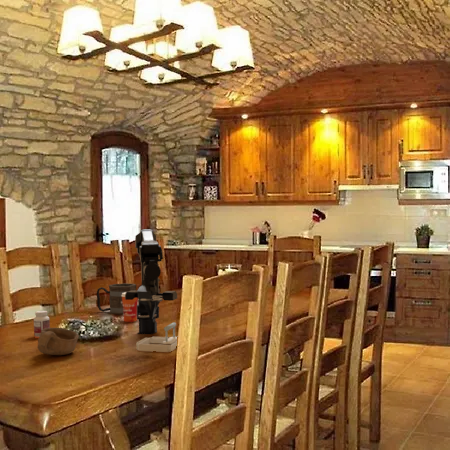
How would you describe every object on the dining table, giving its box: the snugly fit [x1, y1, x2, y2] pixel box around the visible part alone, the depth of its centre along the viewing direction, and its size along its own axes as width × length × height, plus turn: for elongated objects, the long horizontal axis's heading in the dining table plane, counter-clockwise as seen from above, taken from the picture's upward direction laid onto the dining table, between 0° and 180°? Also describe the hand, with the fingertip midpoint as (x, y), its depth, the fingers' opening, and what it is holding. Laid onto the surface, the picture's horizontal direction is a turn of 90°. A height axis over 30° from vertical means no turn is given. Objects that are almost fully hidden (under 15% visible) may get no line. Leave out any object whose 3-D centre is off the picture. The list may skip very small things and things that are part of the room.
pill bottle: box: [33, 310, 51, 339], centre depth 264 cm, size 6×6×11 cm
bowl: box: [37, 327, 80, 356], centre depth 232 cm, size 18×14×10 cm
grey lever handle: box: [162, 322, 178, 345], centre depth 241 cm, size 3×10×6 cm, turn 166°
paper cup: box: [121, 292, 139, 323], centre depth 294 cm, size 8×8×14 cm
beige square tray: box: [135, 336, 177, 353], centre depth 242 cm, size 14×14×3 cm
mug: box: [96, 282, 137, 316], centre depth 317 cm, size 20×14×15 cm
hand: (151, 318), depth 242 cm, fingers closed
